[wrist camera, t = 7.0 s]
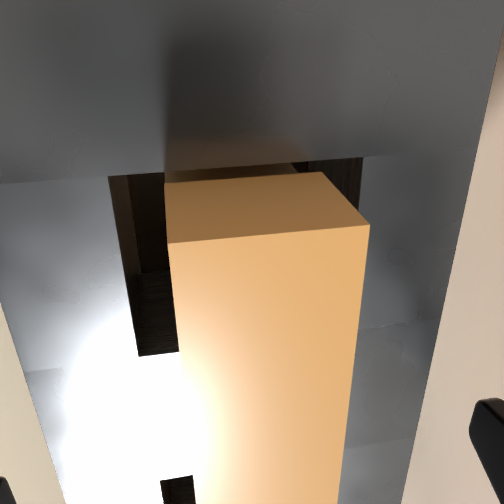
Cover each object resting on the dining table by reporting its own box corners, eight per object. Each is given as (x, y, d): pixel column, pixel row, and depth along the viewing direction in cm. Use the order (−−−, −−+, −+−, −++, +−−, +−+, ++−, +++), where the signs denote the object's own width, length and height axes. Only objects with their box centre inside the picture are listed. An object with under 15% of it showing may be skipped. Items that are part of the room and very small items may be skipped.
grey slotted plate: (-119, -393, 6) (-319, -672, 4) (456, -342, 7) (621, -521, 5) (133, 596, 18) (130, 700, 15) (340, 554, 19) (370, 644, 16)
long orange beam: (279, 125, 10) (370, 224, 6) (274, 443, 15) (322, 625, 11) (160, 132, 10) (167, 244, 6) (194, 456, 15) (211, 649, 10)
